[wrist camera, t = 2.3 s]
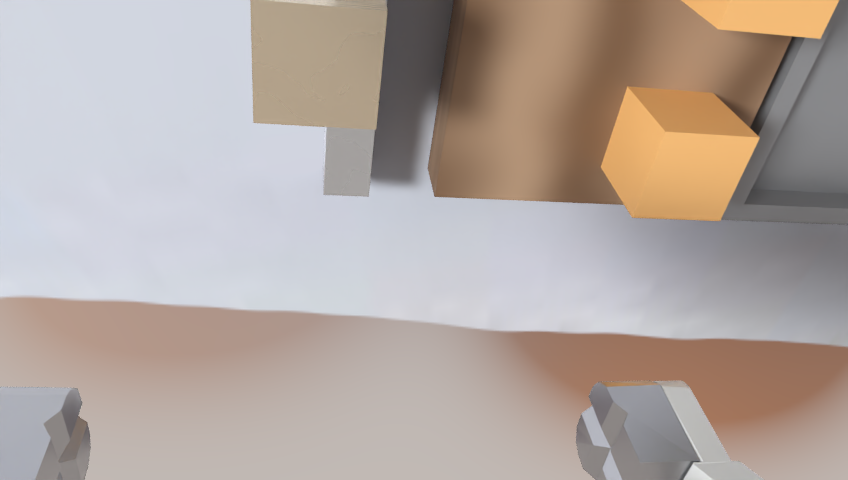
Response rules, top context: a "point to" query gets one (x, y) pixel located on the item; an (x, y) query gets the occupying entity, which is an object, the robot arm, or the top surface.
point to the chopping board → (573, 89)
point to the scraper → (322, 78)
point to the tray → (801, 136)
